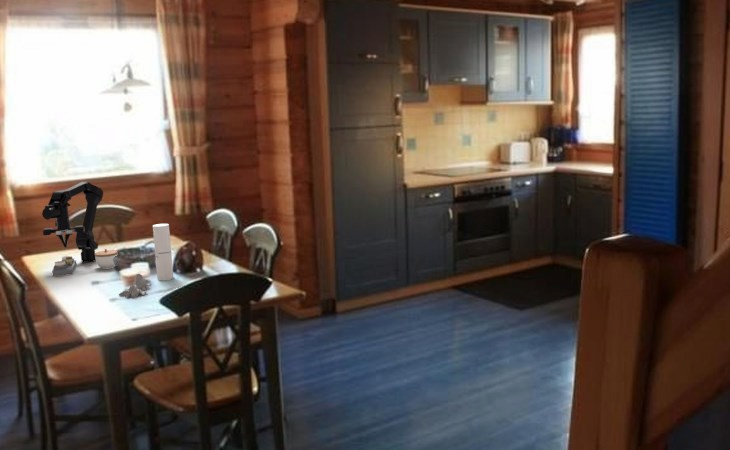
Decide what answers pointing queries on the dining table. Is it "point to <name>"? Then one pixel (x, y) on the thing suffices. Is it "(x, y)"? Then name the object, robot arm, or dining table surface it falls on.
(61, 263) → the knob
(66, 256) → the white round cap
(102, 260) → the lidded jar
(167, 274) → the cylindrical container
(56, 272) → the mount
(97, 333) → the dining table surface
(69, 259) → the metal knob
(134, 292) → the grey lumpy piece
